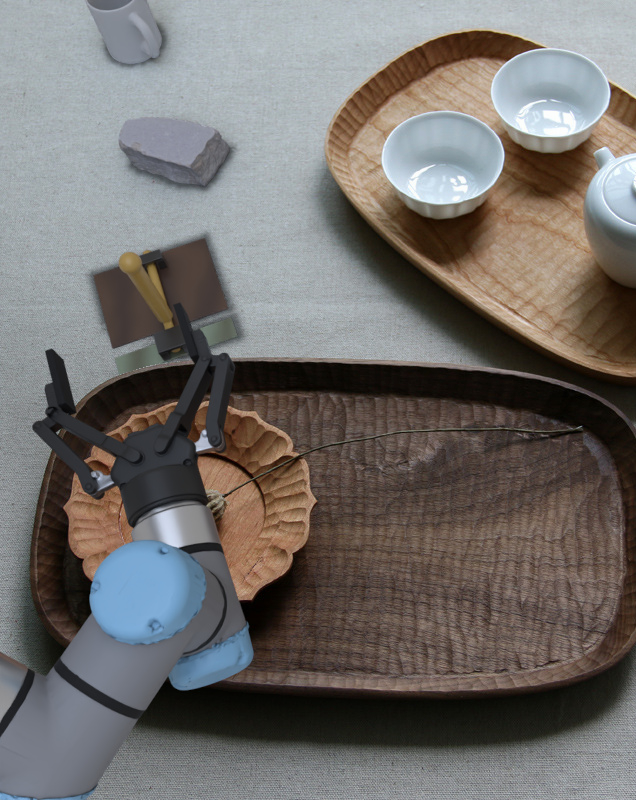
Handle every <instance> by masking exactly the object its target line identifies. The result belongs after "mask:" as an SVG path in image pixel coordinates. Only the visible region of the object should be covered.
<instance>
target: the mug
mask: <svg viewBox="0 0 636 800" xmlns="http://www.w3.org/2000/svg"><path fill="white" fill-rule="evenodd" d="M84 2H85V4H86V7H87V8H88V11H89V13H90V15H91V17H92V20H93V21H94V23H95V25H96V27H97V30H98V32H99V34H100V35H101V38H102V40H103V42H104V44H105V46H106V48H107V50H108V53H109V55H110V56H111V57H112V58H113V59H114V60H115V61H117V62H119V63H122V64H127V65H128V64H129V65H133V64H134V65H135V64H139V63H143V62H145V61H148V60H149V59H156V58H158V57H159V55H160V53H161V52H160V48H161V46H162V43H163V42H162V41H163V37H162V34H161V32H160V29H159V27H158V24H157V21H156V20H155V16H154V15H153V13H152V9H151V7H150V5H149V2H148V0H84Z"/></svg>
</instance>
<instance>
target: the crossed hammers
mask: <svg viewBox="0 0 636 800" xmlns="http://www.w3.org/2000/svg"><path fill="white" fill-rule="evenodd" d="M149 252H152V251H151V250H150V249H145V250H144V251H143V252H142V255H143V254H146V253H149ZM139 256H140V255H139V254H138V253H136V252H134V251H126V252H123V253H122V254H121V255H120V256H119V258H118V267H120V269H121V270H122V271H123V272H124V273H126V274H127V275H128V276H129V278H130V279H131V280H132V282H133V283H134V285H135V286H136V288H137V289H138V291H139V292H140V294H141V295H142V297H143V298H144V300H145V301H146V303H147V304H148V306H149V307H150V309H151V310H152V311H153V313H154V314H155V316H156V317H157V319H158V320H159V321H160V322H162V323H163V325H164V328H165V329H168V328H171V327H174V325H173V322H172V316H173V314H172V312H171V310H170V309H169V307H168V305H167V302H166V299H165V295H164V292H163V289H162V285H161V282H160V279H159V275H158V272H157V269H156V265H155V263H152V264H149V265H146V267H147V270H148V274H149V276H148V274H147V272H146V271H145V269H144V268H143V266H142V261H141V258H140V257H139ZM178 351H180V348H178V349H175V350H172V352H178Z"/></svg>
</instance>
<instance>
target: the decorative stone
mask: <svg viewBox="0 0 636 800" xmlns="http://www.w3.org/2000/svg"><path fill="white" fill-rule="evenodd" d="M118 135H119V136H118V146H119V149H120V150H121V152H123V153H124V154H125V156H126V157H127V159H128V160H129V162H130V163H131V164H132V165H133V167H135V168H137V169H139V170H142V171H147V172H148V173H150V174H152V175H158V176H162V177H164V178H166V179H168V180H169V181H171V182H174V183H179V184H186V185H199V186H201V187H204V188H206V187H207V186H208V185H209V183H210V181H212V180H213V179H214V177H215V176H216V174H217V172H218V171H219V169H220V167H221V166H222V164H224V163H225V160H226V159H227V157H228V155H229V153H230V145H229V144H228V142H227V141H226V140H225V139H223V138H222V137H223V136H222V134H221V132H220V131H219V130H217V129H216V128H214V127H212V126H209V125H205V124H203V125H202V124H200V123H198V122H194V121H191V120H182V119H178V118H170V117H159V116H141V117H138V118H133V119H127V120H125V122H124V123H123V125H122V127H121V129H120V133H119V134H118Z"/></svg>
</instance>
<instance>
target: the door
mask: <svg viewBox="0 0 636 800" xmlns="http://www.w3.org/2000/svg"><path fill="white" fill-rule="evenodd" d="M138 256H139V257H140V258H141V261H142V266H143V268H144V269H145V271H146V272H147V274H148V270H147V267H146V265H149V264H152V263H155V265H156V269H157V272H158V275H159V279H160V282H161V285H162V289H163V292H164V295H165V299H166V302H167V305H168V307H169V309H170V310H171V312H172V314H173V316H172V322H173V325H174V327H171V328H168V329H165V328H164V325H163V323H162V322H160V321H159V320H158V319H157V317H156V316H155V314H154V313H153V311H152V310H151V309H150V307H149V306H148V304H147V303H146V301H145V300H144V298H143V297H142V295H141V294H140V292H139V291H138V289H137V288H136V286H135V285H134V283H133V282H132V280H131V279H130V278H129V276H128V275H127V274H126V273H124V272H123V271H122V270H121V269H120V267H119V266H117V267H113V268H111V269H108V270H105V271H102V272H99V273H96V274H93V275H92V277H93V280H94V284H95V289H96V292H97V296H98V299H99V303H100V306H101V311H102V315H103V318H104V322H105V325H106V329H107V330H106V331H107V334H108V337H109V341H110V344H111V348H112V349H113V350H115V349H117V348H120V347H123V346H125V345H129V344H131V343H134V342H138V341H141V340H143V339H147V338H149V337H151V336H153V339H154V344H150V345H147V346H145V347H142V348H140V349H137V350H134V351H133V350H132V351H131V352H128V353H124V354H122V355H119V356H115V358H114V360H115V365H116V368H117V371H118V375H120V374H123V373H126V372H130V371H133V370H136V369H139V368H143V367H146V366H150V365H155V364H159V363H162V364H164V363H168V362H170V361H173V360H176V359H179V358H181V357H184V356H187V355H189V352H188V349H187V346H186V343H185V340H184V337H183V334H182V331H181V328H180V324H179V321H178V318H177V315H176V312H175V309H174V306H173V305H174V304H177V303H181V305H182V306H183V308H184V309H185V311H186V313H187V314H188V317H189V320H190V323H192V322H195V321H198V320H201V319H204V318H207V317H209V316H213V315H216V314H218V313H222V312H224V311H226V310H229V305H228V303H227V300H226V296H225V294H224V291H223V288H222V285H221V282H220V279H219V276H218V273H217V270H216V267H215V264H214V261H213V257H212V255H211V252H210V249H209V246H208V243H207V240H206V238H205V237H203V238H200V239H197V240H195V241H191V242H188V243H186V244H182V245H179V246H175V247H173V248H170V249H167V250H164V251H162V250H161V249H160V248H158V249H155V250H153V251H151V252H149V253H146V254H143V253H142V254H140V255H138ZM148 276H149V274H148ZM198 329H200V330H201V331H202V332H203V333H204V335H205V337H206V338H207V341H208V344H209V347H212V346H216V345H219V344H221V343H225V342H228V341H230V340H233V339H236V338H238V337H239V335H238V333H237V330H236V327H235V323H234V321H233V318H232V317H229V318H224V319H223V320H220V321H217V322H214V323H212V324H209V325H205V326H203V327H200V328H198ZM178 348H180V351H178V352H172V350H175V349H178ZM159 365H160V364H159Z"/></svg>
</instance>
